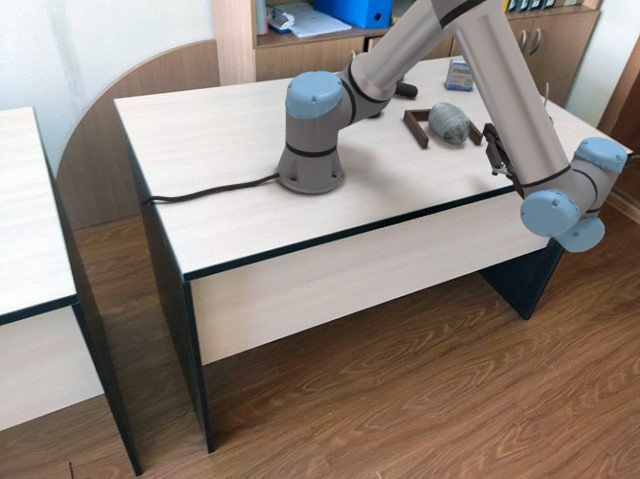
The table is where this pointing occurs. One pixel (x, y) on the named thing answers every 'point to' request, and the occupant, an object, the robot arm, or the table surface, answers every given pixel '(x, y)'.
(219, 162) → the table surface
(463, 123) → the grey marbled egg
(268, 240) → the table surface
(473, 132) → the dock
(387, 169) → the table surface
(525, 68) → the robot arm
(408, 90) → the gaming controller
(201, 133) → the table surface
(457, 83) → the medicine box
